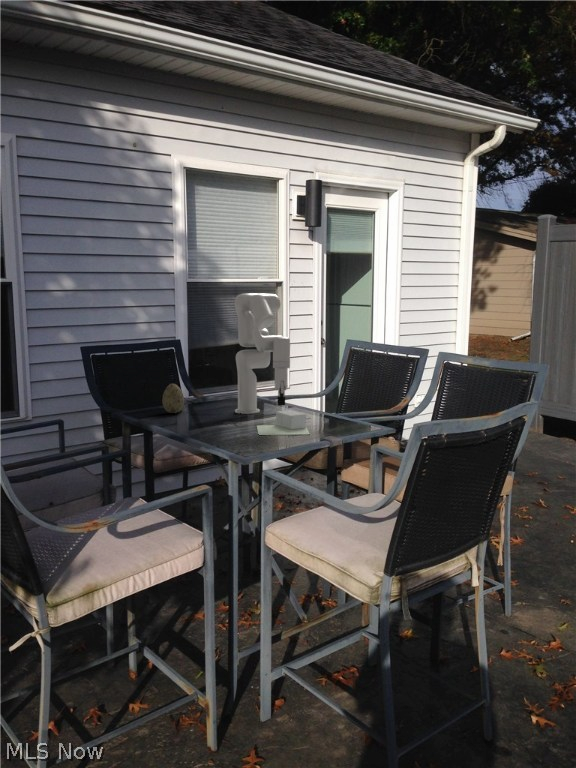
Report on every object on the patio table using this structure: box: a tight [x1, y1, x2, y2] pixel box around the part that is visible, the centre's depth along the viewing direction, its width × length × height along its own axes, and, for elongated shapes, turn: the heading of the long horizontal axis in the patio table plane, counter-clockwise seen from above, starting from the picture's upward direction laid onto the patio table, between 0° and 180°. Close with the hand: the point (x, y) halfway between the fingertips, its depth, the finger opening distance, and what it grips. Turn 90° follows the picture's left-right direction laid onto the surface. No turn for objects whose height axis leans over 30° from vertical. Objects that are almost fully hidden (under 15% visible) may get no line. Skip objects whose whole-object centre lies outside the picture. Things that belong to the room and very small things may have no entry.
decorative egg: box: [161, 383, 185, 414], centre depth 339 cm, size 11×11×15 cm
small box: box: [275, 409, 307, 430], centre depth 305 cm, size 8×6×13 cm
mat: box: [256, 424, 311, 436], centre depth 299 cm, size 20×22×1 cm
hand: (281, 405), depth 305 cm, fingers closed
